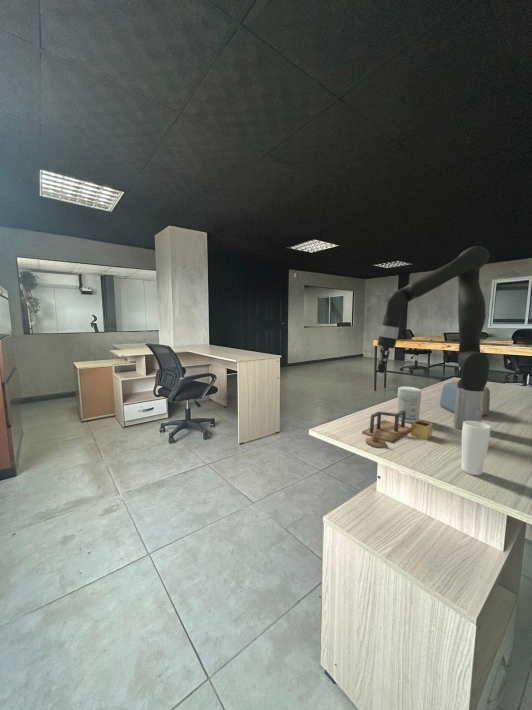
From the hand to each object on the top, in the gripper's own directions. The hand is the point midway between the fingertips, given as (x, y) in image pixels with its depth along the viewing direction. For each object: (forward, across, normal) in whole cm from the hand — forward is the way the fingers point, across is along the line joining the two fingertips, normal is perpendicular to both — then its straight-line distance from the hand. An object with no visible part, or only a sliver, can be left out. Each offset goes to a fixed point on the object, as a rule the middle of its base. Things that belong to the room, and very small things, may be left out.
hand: (380, 371), depth 130 cm
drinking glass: (+19, -41, -28) cm, 53 cm away
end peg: (+22, -30, -1) cm, 38 cm away
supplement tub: (+20, +3, -16) cm, 26 cm away
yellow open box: (+20, -16, -19) cm, 31 cm away
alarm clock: (+16, +28, -45) cm, 55 cm away
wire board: (+22, -16, -6) cm, 28 cm away
